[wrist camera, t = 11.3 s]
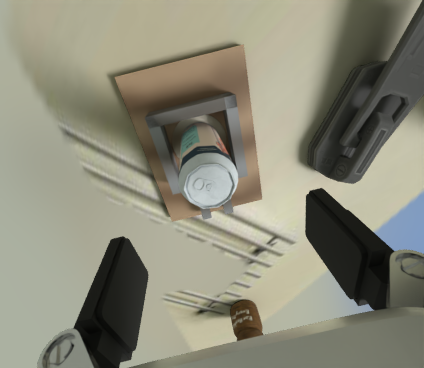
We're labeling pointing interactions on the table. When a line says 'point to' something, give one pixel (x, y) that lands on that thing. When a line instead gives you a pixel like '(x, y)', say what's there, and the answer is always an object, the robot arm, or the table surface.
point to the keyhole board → (194, 121)
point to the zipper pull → (370, 108)
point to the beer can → (205, 167)
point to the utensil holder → (245, 320)
